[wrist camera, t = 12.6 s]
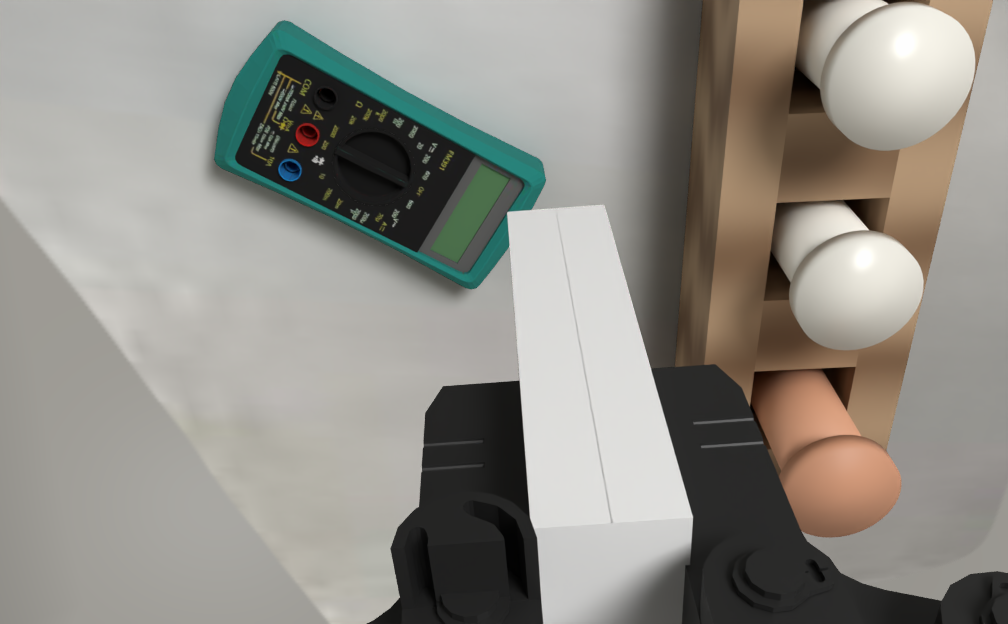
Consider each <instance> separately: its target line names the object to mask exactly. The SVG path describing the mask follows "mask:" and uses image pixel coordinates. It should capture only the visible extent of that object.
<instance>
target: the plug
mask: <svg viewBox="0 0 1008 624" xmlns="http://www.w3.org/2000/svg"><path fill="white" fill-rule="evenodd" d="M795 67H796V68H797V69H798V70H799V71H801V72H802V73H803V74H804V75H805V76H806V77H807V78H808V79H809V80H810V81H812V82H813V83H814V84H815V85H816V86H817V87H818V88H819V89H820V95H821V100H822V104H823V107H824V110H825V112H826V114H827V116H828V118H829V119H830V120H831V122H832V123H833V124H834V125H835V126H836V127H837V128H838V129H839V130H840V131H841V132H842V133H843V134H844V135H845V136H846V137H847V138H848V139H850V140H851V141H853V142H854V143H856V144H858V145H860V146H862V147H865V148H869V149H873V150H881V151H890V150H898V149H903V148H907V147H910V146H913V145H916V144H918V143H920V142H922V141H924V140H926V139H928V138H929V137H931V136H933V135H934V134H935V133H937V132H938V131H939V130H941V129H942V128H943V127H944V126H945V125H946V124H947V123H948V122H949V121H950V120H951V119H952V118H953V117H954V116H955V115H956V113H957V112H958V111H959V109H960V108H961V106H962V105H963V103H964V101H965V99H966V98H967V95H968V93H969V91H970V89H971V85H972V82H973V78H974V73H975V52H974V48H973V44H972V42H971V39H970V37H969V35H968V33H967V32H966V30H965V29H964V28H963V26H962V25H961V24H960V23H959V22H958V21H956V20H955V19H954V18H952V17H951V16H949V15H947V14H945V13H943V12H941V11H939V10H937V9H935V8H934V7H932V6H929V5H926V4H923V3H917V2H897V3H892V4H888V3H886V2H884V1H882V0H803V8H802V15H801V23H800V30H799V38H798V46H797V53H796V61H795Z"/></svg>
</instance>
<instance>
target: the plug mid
mask: <svg viewBox="0 0 1008 624" xmlns="http://www.w3.org/2000/svg"><path fill="white" fill-rule="evenodd" d="M771 252H772V254H773V255H774V257H775V258H776V260H777V262H778V263H779V265H780V266H781V268H782V270H783V271H784V273H785V274H786V276H787V278H788V279H789V281H790V282H791V284H790V289H789V302H790V306H791V310H792V312H793V314H794V316H795V318H796V319H797V321H798V323H799V324H800V326H801V328H802V329H803V331H804V332H805V333H806V335H807V336H808V337H809V338H810V339H812V340H813V341H814V342H816V343H818V344H820V345H822V346H824V347H827V348H831V349H835V350H857V349H862V348H866V347H870V346H873V345H875V344H878V343H880V342H882V341H884V340H886V339H888V338H889V337H891V336H892V335H894V334H895V333H896V332H898V331H899V330H900V329H901V328H902V327H903V326H904V325H905V324H906V323H907V322H908V321H909V320H910V318H911V317H912V316H913V314H914V313H915V311H916V309H917V308H918V305H919V303H920V301H921V297H922V294H923V284H924V280H923V274H922V271H921V268H920V266H919V264H918V262H917V261H916V259H915V258H914V257H913V256H912V255H911V254H910V252H909V251H908V250H907V249H906V248H905V247H904V246H903V245H902V244H901V243H900V242H899V241H898V240H896V239H895V238H893V237H891V236H889V235H887V234H885V233H881V232H877V231H870V230H869V229H868V228H867V227H866V226H865V225H864V224H863V222H862V221H861V220H860V219H859V218H858V217H857V216H856V214H855V213H854V212H853V211H852V210H851V209H850V208H849V206H848V205H847V204H846V203H845V202H844V201H843V200H826V201H805V202H783V203H777V204H776V212H775V219H774V227H773V235H772V242H771Z"/></svg>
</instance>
